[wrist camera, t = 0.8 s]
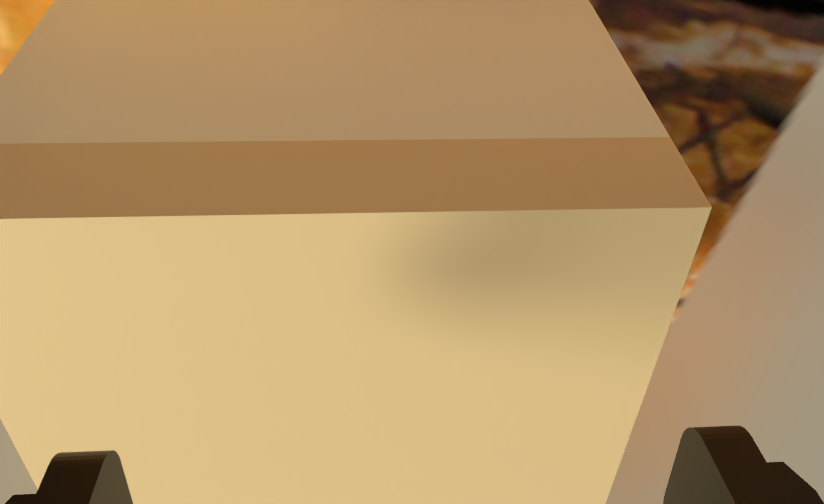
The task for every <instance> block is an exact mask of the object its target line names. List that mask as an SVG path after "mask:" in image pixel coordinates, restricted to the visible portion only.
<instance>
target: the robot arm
mask: <svg viewBox="0 0 824 504" xmlns="http://www.w3.org/2000/svg"><path fill="white" fill-rule="evenodd" d="M5 504H133V501H132V498H131V495H130V491H129V488H128V484H127V481H126V477H125V474H124V470H123V467H122V463H121V460H120V457H119V455H118V453H117V452H116V451H114V450H108V451H84V452H61V453H57V454H56V455H55V456H54V457H53V458H52V460H51V461H50V463H49V465H48V467H47V470H46V472H45V474H44V477H43V479H42V481H41V484H40V486H39V489H38V491H37V493H36V494H24V495H13V496H12V497H11V498H10V499H9V500H8V501H7V502H6V503H5ZM663 504H824V503H823V501H822V500H821V498H820V496H819V495H818V493H817V492H816V490H814V489H813V488H812V487H811V486H810V485H809V484H808V483H807V482H805V481H804V480H803V479H802V478H801V477H800V476H798V475H797V474H796V473H795V472H794V471H793V470H792V469H790V468H789V467H788V466H787V465H786V464H785V463H784V462H769V463H767V462H766V460H765V459H764V457H763V455H762V454H761V452H760V450H759V449H758V447H757V445H756V444H755V442H754V440H753V438H752V437H751V435H750V434H749V432H748V431H747V430H746V429H745V428H743V427H741V426H719V427H695V428H687V429H686V430H685V431H684V433H683V435H682V437H681V440H680V444H679V447H678V451H677V454H676V458H675V461H674V464H673V468H672V471H671V475H670V478H669V481H668V485H667V488H666V492H665V496H664V502H663Z"/></svg>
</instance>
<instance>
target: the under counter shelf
mask: <svg viewBox="0 0 824 504" xmlns="http://www.w3.org/2000/svg"><path fill="white" fill-rule="evenodd" d="M711 209H712V207H711V205H710V203H709V202H708V200H707V198H706V196H705V195H704V193H703V191H702V190H701V188H700V186H699V185H698V183H697V181H696V180H695V178H694V176H693V175H692V173H691V171H690V170H689V168H688V166H687V165H686V163H685V161H684V159H683V158H682V156H681V154H680V153H679V151H678V149H677V148H676V146H675V144H674V143H673V141H672V139H671V138H670V136H669V134H668V133H667V131H666V129H665V127H664V126H663V124H662V122H661V121H660V119H659V117H658V116H657V114H656V112H655V111H654V109H653V107H652V106H651V104H650V102H649V101H648V99H647V97H646V96H645V94H644V92H643V90H642V89H641V87H640V85H639V84H638V82H637V80H636V79H635V77H634V75H633V74H632V72H631V70H630V69H629V67H628V65H627V64H626V62H625V60H624V58H623V57H622V55H621V53H620V52H619V50H618V48H617V47H616V45H615V43H614V42H613V40H612V38H611V37H610V35H609V33H608V32H607V30H606V28H605V27H604V25H603V23H602V21H601V20H600V18H599V16H598V15H597V13H596V11H595V10H594V8H593V6H592V5H591V3H590V1H589V0H55V1H54V2H53V4H52V5H51V6H50V8H49V9H48V11H47V12H46V13H45V15H44V16H43V18H42V19H41V20H40V22H39V23H38V24H37V26H36V27H35V29H34V30H33V31H32V33H31V34H30V36H29V37H28V38H27V40H26V41H25V42H24V44H23V45H22V47H21V48H20V49H19V51H18V52H17V54H16V55H15V56H14V58H13V59H12V60H11V62H10V63H9V65H8V66H7V67H6V69H5V70H4V71H3V73H2V74H1V76H0V419H1V421H2V423H3V424H4V426H5V428H6V430H7V432H8V434H9V436H10V438H11V440H12V442H13V443H14V445H15V447H16V449H17V451H18V453H19V455H20V457H21V459H22V460H23V462H24V464H25V466H26V468H27V470H28V472H29V474H30V476H31V478H32V479H33V481H34V483H35V485H36V487H37V489H39V486H40V484H41V481H42V479H43V477H44V474H45V472H46V470H47V467H48V465H49V463H50V461H51V460H52V458H53V457H54V456H55V455H56V454H57V453H61V452H84V451H108V450H114V451H116V452H117V453H118V455H119V457H120V460H121V463H122V467H123V470H124V474H125V477H126V481H127V484H128V488H129V491H130V495H131V498H132V501H133V504H605V503H606V500H607V497H608V495H609V492H610V489H611V486H612V483H613V481H614V478H615V475H616V472H617V470H618V467H619V464H620V461H621V459H622V456H623V453H624V450H625V447H626V445H627V442H628V439H629V436H630V434H631V431H632V428H633V425H634V423H635V420H636V417H637V414H638V411H639V409H640V406H641V403H642V400H643V398H644V394H645V392H646V389H647V386H648V384H649V381H650V378H651V375H652V373H653V370H654V367H655V364H656V361H657V359H658V356H659V353H660V350H661V347H662V345H663V342H664V339H665V336H666V334H667V331H668V328H669V325H670V323H671V320H672V317H673V314H674V311H675V309H676V306H677V303H678V300H679V298H680V295H681V292H682V289H683V286H684V284H685V281H686V278H687V275H688V273H689V270H690V267H691V264H692V261H693V259H694V256H695V253H696V250H697V248H698V245H699V242H700V239H701V236H702V234H703V231H704V228H705V225H706V223H707V220H708V217H709V214H710V211H711Z"/></svg>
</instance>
